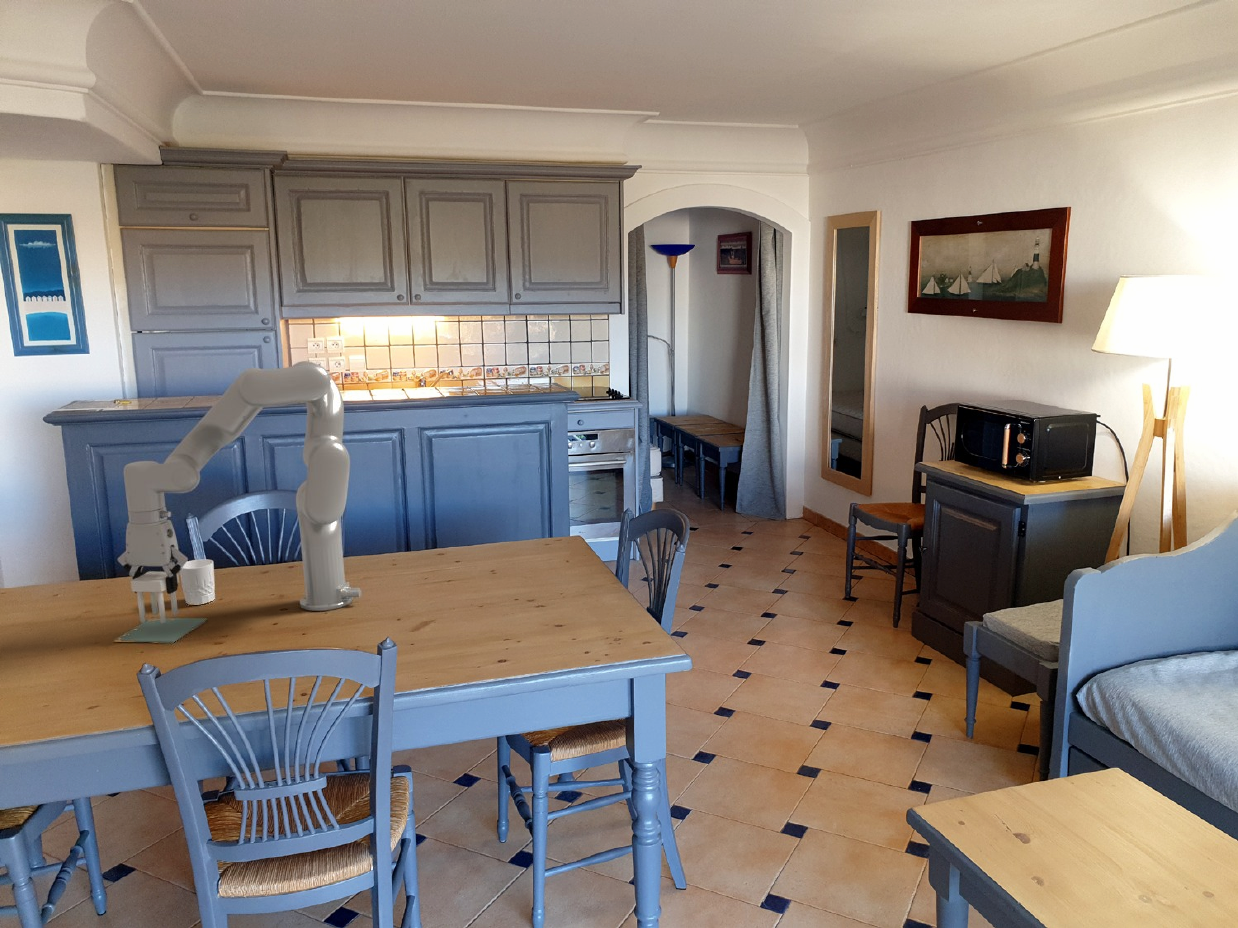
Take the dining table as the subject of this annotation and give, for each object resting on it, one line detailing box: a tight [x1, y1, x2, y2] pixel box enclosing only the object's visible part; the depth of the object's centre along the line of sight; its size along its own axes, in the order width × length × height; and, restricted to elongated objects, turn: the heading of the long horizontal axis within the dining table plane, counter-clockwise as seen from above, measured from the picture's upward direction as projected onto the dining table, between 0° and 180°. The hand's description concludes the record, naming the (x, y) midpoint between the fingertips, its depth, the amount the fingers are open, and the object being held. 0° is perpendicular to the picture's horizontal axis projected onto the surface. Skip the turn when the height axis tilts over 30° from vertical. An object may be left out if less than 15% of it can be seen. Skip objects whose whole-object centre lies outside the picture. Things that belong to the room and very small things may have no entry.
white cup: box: [179, 558, 216, 605], centre depth 226 cm, size 8×8×10 cm
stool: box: [130, 570, 180, 623], centre depth 206 cm, size 7×7×10 cm
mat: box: [116, 617, 208, 644], centre depth 207 cm, size 14×14×1 cm
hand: (156, 591), depth 206 cm, fingers closed on stool, 7 cm apart
